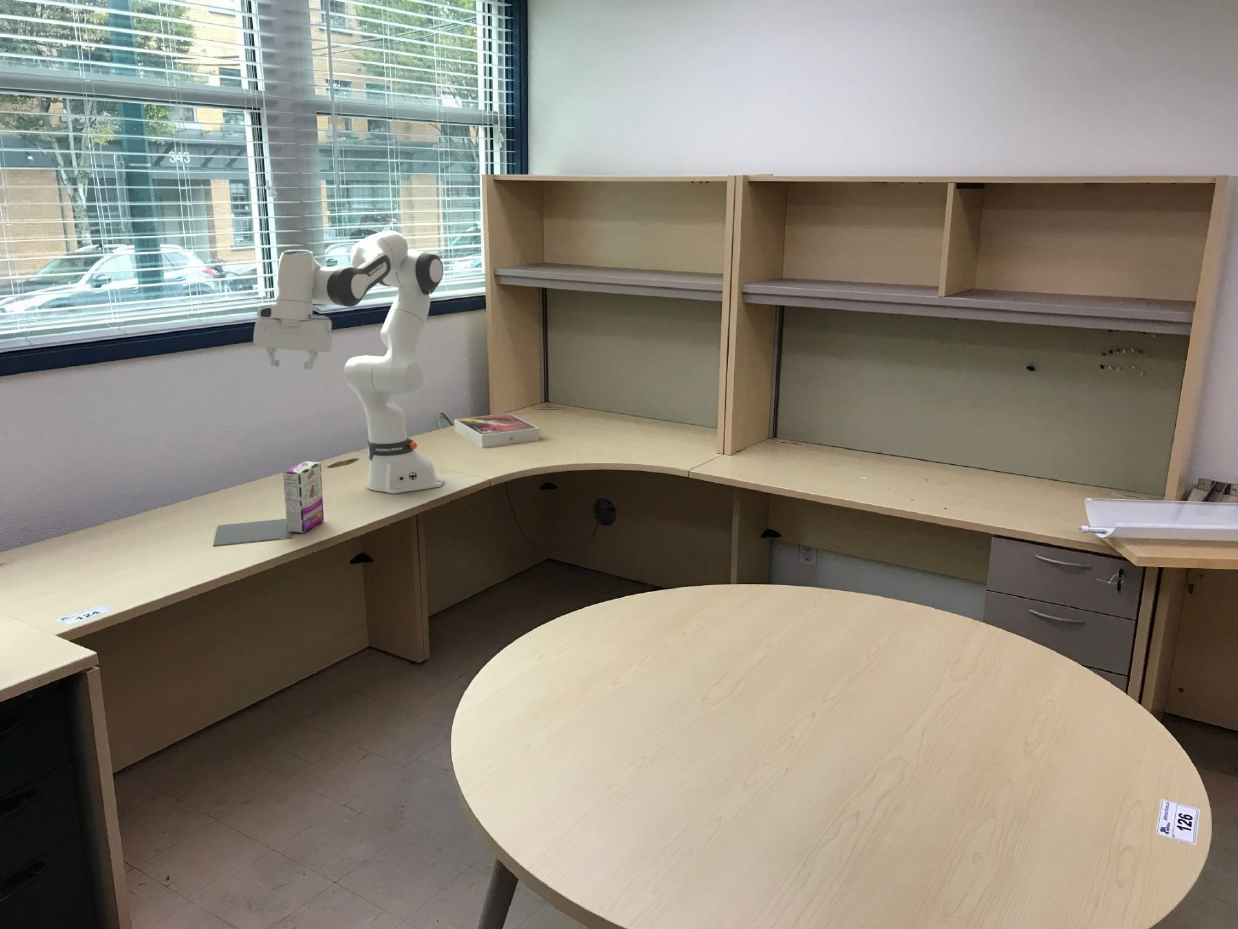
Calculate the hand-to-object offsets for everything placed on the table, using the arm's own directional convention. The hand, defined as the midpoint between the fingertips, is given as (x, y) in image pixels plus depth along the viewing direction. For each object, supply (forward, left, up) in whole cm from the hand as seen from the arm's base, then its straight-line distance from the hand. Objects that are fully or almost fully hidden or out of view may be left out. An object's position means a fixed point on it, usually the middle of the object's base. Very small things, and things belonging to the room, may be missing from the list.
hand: (291, 368), depth 247 cm
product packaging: (-67, -81, -43) cm, 113 cm away
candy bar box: (0, +3, -42) cm, 42 cm away
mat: (+13, +3, -42) cm, 44 cm away
